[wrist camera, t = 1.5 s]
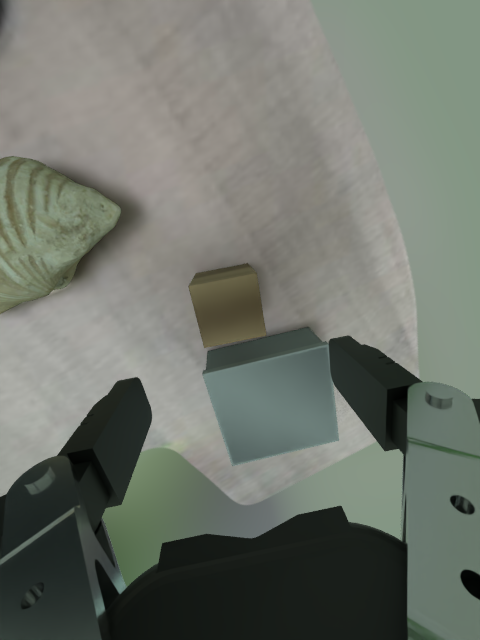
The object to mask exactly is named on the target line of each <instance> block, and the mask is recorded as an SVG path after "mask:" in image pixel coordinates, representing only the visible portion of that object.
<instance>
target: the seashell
mask: <svg viewBox="0 0 480 640" xmlns="http://www.w3.org/2000/svg"><path fill="white" fill-rule="evenodd" d="M120 214H121V209H120V207H119V206H118V205H117V204H115V203H114V202H113V201H111V200H110V199H108V198H106V197H105V196H103V195H102V194H100V193H99V192H97V191H96V190H95V189H93V188H88V187H86V186H83V185H80V184H77V183H75V182H73V181H72V180H71V179H69V178H68V177H66V176H64V175H63V174H61V173H59V172H57V171H55V170H53V169H51V168H49V167H47V166H46V165H44V164H43V163H41V162H39V161H36V160H33V159H27V158H21V157H14V156H11V157H5V158H2V159H0V314H1V313H3V312H5V311H6V310H8V309H10V308H12V307H14V306H16V305H18V304H20V303H22V302H26V301H31V300H34V299H38V298H41V297H44V296H46V295H49V293H50V292H51V291H52V290H55V289H61V288H64V287H66V286H67V285H68V284H69V282H70V281H71V280H72V278H73V276H74V274H75V271H76V267H77V264H78V262H79V261H80V259H81V258H82V257H83V256H84V255H85V254H86V253H88V252H89V251H90V250H91V249H92V248H93V247H94V245H95V244H96V243H97V242H99V241H100V240H101V239H102V237H103V236H105V235H106V234H107V233H108V232H109V231H110V230H111V229H113V228H114V227H115V226H116V224H117V222H118V220H119V217H120Z"/></svg>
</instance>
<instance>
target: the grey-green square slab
mask: <svg viewBox="0 0 480 640" xmlns="http://www.w3.org/2000/svg"><path fill="white" fill-rule="evenodd" d="M202 375H203V378H204V381H205V384H206V387H207V390H208V393H209V396H210V399H211V402H212V405H213V408H214V411H215V414H216V417H217V420H218V424H219V427H220V430H221V433H222V436H223V439H224V442H225V445H226V448H227V451H228V454H229V457H230V460H231V463H232V466H235V465H239V464H243V463H247V462H251V461H255V460H260V459H264V458H268V457H272V456H276V455H280V454H285V453H289V452H293V451H297V450H301V449H305V448H310V447H314V446H318V445H322V444H326V443H330V442H335V441H339V436H338V426H337V417H336V407H335V398H334V389H333V381H332V378H331V373H330V359H329V344H328V343H327V342H326V341H325V342H322V341H321V340H320V339H319V338H318V337H317V336H316V335H315V334H314V333H313V332H312V330H311V329H310V328H309V327H307V328H302V329H298V330H294V331H290V332H286V333H282V334H278V335H273V336H269V337H265V338H261V339H257V340H253V341H249V342H244V343H240V344H236V345H232V346H228V347H224V348H220V349H215V350H211V351H208V353H207V363H206V370H204V371H203V374H202Z"/></svg>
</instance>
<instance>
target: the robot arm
mask: <svg viewBox="0 0 480 640" xmlns="http://www.w3.org/2000/svg"><path fill="white" fill-rule="evenodd" d="M329 359H330V373H331V378H332V381H333V383H334V385H335V387H336V388H337V389H338V391H339V392H340V393H341V395H342V396H343V397H344V398H345V400H346V401H347V402H348V404H349V405H350V406H351V408H352V409H353V410H354V412H355V413H356V414H357V415H358V417H359V418H360V419H361V421H362V422H363V423H364V425H365V426H366V427H367V429H368V430H369V431H370V432H371V434H372V435H373V436H374V438H375V439H376V440H377V442H378V443H379V444H380V445H381V447H382V448H383V449H384V451H389V450H394V449H400V451H401V452H402V453H403V478H402V514H401V537H400V540H399V539H397V538H396V537H394V536H392V535H390V534H388V533H385V532H383V531H381V530H378V529H376V528H373V527H370V526H367V525H362V524H358V523H351V522H348V520H347V517H346V515H345V513H344V511H343V508H342V506H337V507H333V508H328V509H323V510H318V511H313V512H309V513H304V514H299V515H296V516H295V517H293V518H291V519H289V520H288V521H286V522H284V523H282V524H280V525H278V526H277V527H275V528H273V529H271V530H269V531H268V532H266V533H264V534H262V535H260V536H258V537H256V538H252V539H251V538H240V537H231V536H220V535H211V534H204V535H200V536H194V537H190V538H185V539H180V540H176V541H171V542H166V543H162V547H161V552H160V558H159V563H158V564H156V565H154V566H153V567H151V568H150V569H148V570H147V571H145V572H144V573H142V574H141V575H140V576H139V577H138V578H136V579H135V580H134V581H133V582H132V583H131V584H130V585H129V586H128V587H126V585H125V583H124V580H123V578H122V575H121V572H120V569H119V565H118V563H117V559H116V556H115V553H114V550H113V547H112V544H111V541H110V538H109V535H108V531H107V528H106V526H105V523H104V521H103V519H102V515H103V513H104V511H105V508H108V507H113V506H118V505H121V504H122V502H123V499H124V496H125V493H126V491H127V488H128V485H129V482H130V480H131V477H132V474H133V471H134V468H135V466H136V463H137V460H138V458H139V455H140V452H141V449H142V447H143V444H144V441H145V438H146V436H147V433H148V430H149V427H150V425H151V421H152V411H151V407H150V404H149V402H148V399H147V396H146V394H145V391H144V388H143V386H142V383H141V381H140V379H139V378H138V377H135V378H130V379H125V380H120V381H117V382H116V383H115V385H114V386H113V388H112V389H111V391H110V392H109V393H108V395H106V396H105V397H103V398H102V399H101V400H100V401H99V402H97V403H96V404H95V405H94V406H93V407H92V409H91V410H90V412H89V413H88V414H87V417H85V418H84V420H83V421H82V422H81V425H80V426H79V427H78V428H77V429H76V431H75V432H74V433H73V435H72V436H71V437H70V439H69V440H68V441H67V443H66V444H65V446H64V447H63V448H62V450H61V451H60V452H59V454H58V455H57V456H55V457H51V458H48V459H46V460H44V461H42V462H40V463H38V464H36V465H35V466H33V467H32V468H30V469H29V470H28V471H26V472H25V473H24V474H23V475H22V476H20V477H19V478H18V479H17V480H16V481H15V483H14V484H13V485H12V486H11V488H10V489H9V491H8V493H7V494H6V495H4V496H2V497H0V640H480V399H471V398H470V397H469V396H468V395H466V394H465V393H464V392H462V391H461V390H459V389H457V388H454V387H452V386H449V385H446V384H442V383H436V382H422V381H421V380H420V379H418V378H417V377H415V376H414V375H413V374H411V373H410V372H409V371H407V370H406V369H404V368H403V367H402V366H400V365H399V364H397V363H395V361H393V360H392V359H391V358H389V357H387V356H386V355H385V354H384V353H382V352H381V351H379V350H378V349H376V348H373V347H370V346H368V345H365V344H364V345H361V344H359V343H358V342H357V341H356V340H354V339H353V338H352V337H350V336H343V337H338V338H333V339H330V340H329Z"/></svg>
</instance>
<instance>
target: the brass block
mask: <svg viewBox="0 0 480 640" xmlns="http://www.w3.org/2000/svg"><path fill="white" fill-rule="evenodd" d="M188 287H189V291H190V295H191V298H192V302H193V306H194V310H195V314H196V318H197V322H198V326H199V329H200V333H201V337H202V341H203V345H204V348H206V347H211V346H217V345H222V344H227V343H232V342H237V341H242V340H247V339H252V338H257V337H262V336H266V329H265V323H264V317H263V310H262V304H261V297H260V291H259V284H258V278H257V273H256V272H255V271H254V270H253V269H252V268H251V266H250V265H249V264H248V263H247V264H242V265H237V266H232V267H227V268H221V269H216V270H211V271H206V272H201V273H196V274H195V276H194V278H193V279H192V281H191V283H190V284H189V286H188Z"/></svg>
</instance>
